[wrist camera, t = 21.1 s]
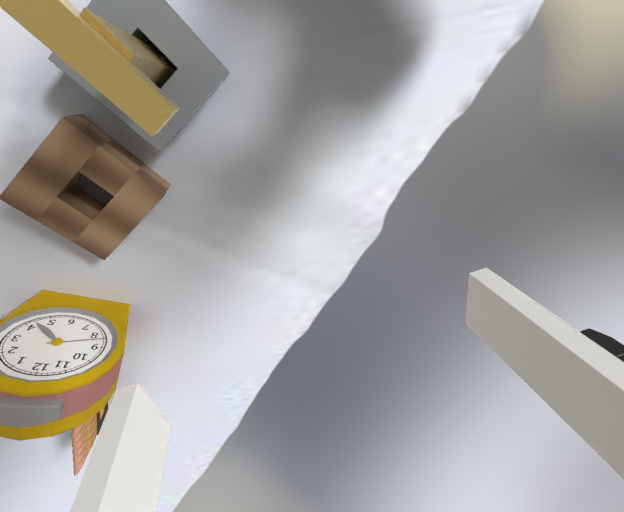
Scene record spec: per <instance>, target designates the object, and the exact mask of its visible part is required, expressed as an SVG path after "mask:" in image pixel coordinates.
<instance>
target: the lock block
mask: <svg viewBox="0 0 624 512" xmlns="http://www.w3.org/2000/svg"><path fill="white" fill-rule="evenodd" d="M83 175H84V176H86V177H87V178H89V179H90V180H91V181H93V182H94V183H96V184H97V185H99V186H100V187H101V188H103V189H104V190H106V191H107V192H109V193H110V194H111V195H113V196H114V197H113V198H112V199H111V200H110V201H109V203H108V204H107V205H106V206H104V205H103V204H101V203H100V202H98V201H97V200H95V199H94V198H92V197H91V196H89V195H88V194H86V193H85V192H83V191H82V190H81V189H79V188H78V187H76V186H75V185H76V183H77V182H78V181H79V180H80V179H81V178H82V176H83ZM169 186H170V184H169V183H167V182H166V181H165V180H164V179H162V178H161V177H160V176H159V175H157V174H156V173H155V172H154V171H152V170H151V169H150V168H149V167H147V166H146V165H145V164H144V163H142V162H141V161H140V160H138V159H137V158H136V157H135V156H133V155H132V154H131V153H130V152H128V151H127V150H126V149H125V148H123V147H122V146H121V145H120V144H118V143H117V142H116V141H115V140H113V139H112V138H111V137H110V136H108V135H107V134H106V133H105V132H103V131H102V130H101V129H99V128H98V127H97V126H96V125H94V124H93V123H92V122H91V121H89V120H88V119H87V118H86V117H84V116H83V115H82V114H81V115H75V116H70V117H64V118H62V119H61V120H60V121H59V123H58V124H57V125H56V126H55V128H54V129H53V130H52V131H51V133H50V134H49V135H48V136H47V138H46V139H45V140H44V141H43V143H42V144H41V145H40V146H39V148H38V149H37V150H36V151H35V153H34V154H33V155H32V156H31V158H30V159H29V160H28V161H27V163H26V164H25V165H24V167H23V168H22V169H21V170H20V172H19V173H18V174H17V175H16V177H15V178H14V179H13V180H12V182H11V183H10V184H9V185H8V187H7V188H6V189H5V190H4V192H3V193H2V194H1V195H0V199H1V200H2V201H4V202H6V203H8V204H9V205H11V206H13V207H14V208H16V209H18V210H20V211H21V212H23V213H25V214H26V215H28V216H30V217H32V218H33V219H35V220H37V221H38V222H40V223H42V224H43V225H45V226H47V227H49V228H50V229H52V230H54V231H55V232H57V233H59V234H61V235H62V236H64V237H66V238H67V239H69V240H71V241H72V242H74V243H76V244H78V245H79V246H81V247H83V248H84V249H86V250H88V251H90V252H91V253H93V254H95V255H96V256H98V257H100V258H102V259H103V260H105V259H106V258H107V257H108V256H109V255H110V254H111V252H112V251H113V250H114V249H115V248H116V247H117V246H118V245H119V244H120V243H121V242H122V241H123V239H124V238H125V237H126V236H127V235H128V234H129V233H130V232H131V231H132V230H133V229H134V228H135V226H136V225H137V224H138V223H139V222H140V221H141V220H142V219H143V218H144V217H145V216H146V215H147V213H148V212H149V211H150V210H151V209H152V208H153V207H154V206H155V205H156V204H157V203H158V201H159V200H160V199H161V198H162V197H163V196H164V195H165V193H166V191H167V190H168V188H169Z"/></svg>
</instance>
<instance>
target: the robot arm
mask: <svg viewBox="0 0 624 512" xmlns="http://www.w3.org/2000/svg"><path fill="white" fill-rule="evenodd" d="M467 299H468V300H467V310H466V324H467V325H468V326H469V327H470V328H471V329H472V330H473V331H474V332H475V333H476V334H477V335H478V336H479V337H480V338H481V339H482V340H483V341H484V342H485V343H486V344H487V345H488V346H489V347H490V348H491V349H492V350H493V351H494V352H495V353H496V354H497V355H498V356H499V357H500V358H501V359H502V360H503V361H504V362H505V363H506V364H507V365H508V366H509V367H510V368H512V369H513V370H514V372H516V373H517V374H518V375H519V376H520V377H521V378H522V379H523V380H524V381H525V382H526V383H527V384H528V385H529V386H530V387H531V388H532V389H533V390H534V391H535V392H536V393H537V394H538V395H539V396H540V397H541V398H542V399H543V400H544V401H545V402H546V403H547V404H548V405H549V406H550V407H551V408H552V409H553V410H554V411H555V412H556V413H557V414H558V415H559V416H560V417H561V418H562V419H563V420H564V421H565V422H566V423H567V424H568V425H569V426H570V427H572V429H573V430H575V432H577V433H578V434H579V435H580V436H581V437H582V438H583V439H584V440H585V441H586V442H587V443H588V444H589V445H590V446H591V447H592V448H593V449H594V450H595V451H596V452H597V453H598V454H599V455H600V456H601V457H602V458H603V459H604V460H605V461H606V462H607V463H608V464H609V465H610V466H611V467H612V468H613V469H614V470H615V471H616V472H617V473H618V474H619V475H620V476H621V477H622V478H624V345H622V344H621V343H619V342H618V341H616V340H615V339H613V338H612V337H609V336H607V335H604V334H602V333H599V332H596V331H594V330H592V329H586V330H583V331H581V332H579V331H577V330H576V329H575V328H573V327H572V326H570V325H569V324H567V323H566V322H565V321H563V320H561V319H560V318H559V317H557V316H556V315H554V314H553V313H551V312H550V311H549V310H547V309H545V308H544V307H543V306H541V305H540V304H538V303H537V302H535V301H534V300H533V299H531V298H530V297H528V296H527V295H525V294H524V293H522V292H521V291H519V290H518V289H517V288H515V287H514V286H512V285H511V284H509V283H508V282H506V281H505V280H503V279H502V278H501V277H499V276H498V275H496V274H495V273H493V272H492V271H491V270H489V269H488V268H484V269H481V270H478V271H475V272H472V273H470V274H469V285H468V297H467ZM170 430H171V424H170V423H169V422H168V420H167V419H166V418H165V417H164V415H163V414H162V413H161V411H160V410H159V409H158V408H157V406H156V405H155V404H154V402H153V401H152V400H151V399H150V397H149V396H148V395H147V393H146V392H145V391H144V389H143V388H142V387H141V386H140V384H139V383H138V382H137V383H134V384H131V385H128V386H125V387H121V388H118V389H116V390H115V393H114V396H113V398H112V401H111V404H110V406H109V409H108V412H107V414H106V417H105V420H104V423H103V425H102V428H101V431H100V433H99V436H98V439H97V441H96V444H95V447H94V449H93V452H92V455H91V457H90V460H89V463H88V466H87V468H86V471H85V474H84V476H83V479H82V482H81V484H80V487H79V490H78V492H77V495H76V498H75V500H74V503H73V506H72V509H71V511H70V512H157V508H158V502H159V496H160V490H161V484H162V478H163V472H164V466H165V460H166V454H167V448H168V442H169V436H170Z"/></svg>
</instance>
